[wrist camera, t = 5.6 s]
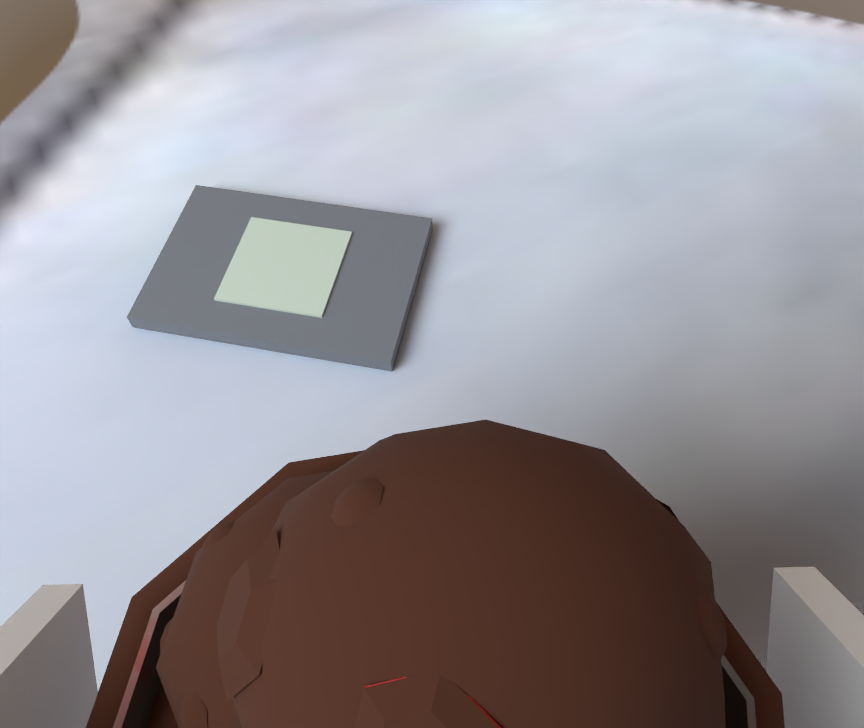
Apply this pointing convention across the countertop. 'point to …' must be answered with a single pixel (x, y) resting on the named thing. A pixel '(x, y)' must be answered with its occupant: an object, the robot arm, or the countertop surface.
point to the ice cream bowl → (439, 601)
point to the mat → (286, 276)
